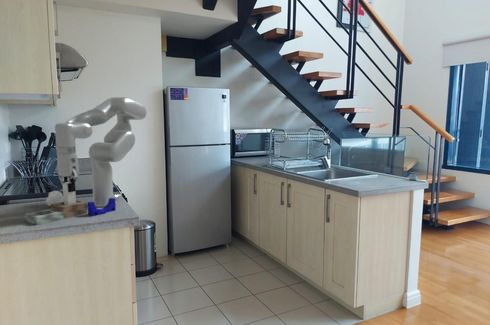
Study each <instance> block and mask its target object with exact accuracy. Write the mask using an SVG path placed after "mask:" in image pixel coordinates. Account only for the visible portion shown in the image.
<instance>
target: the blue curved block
mask: <svg viewBox="0 0 490 325" xmlns="http://www.w3.org/2000/svg"><path fill="white" fill-rule="evenodd" d="M115 200H116V199H115V198H109V201H108V204H107V205H106V206H105V207H101V208H98V207H95V205H94V202H92V201H87V215H88V216H91V217H96V216H101V215H105V214H107V213H111V212H115V210H116V211H117V209H116V208H117V207H116V204H115Z"/></svg>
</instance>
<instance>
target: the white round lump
mask: <svg viewBox="0 0 490 325" xmlns="http://www.w3.org/2000/svg"><path fill="white" fill-rule="evenodd" d="M60 202H64V197H63V192H61V191H60V190H53V191H50V192H48V196H47V198H46V199H45V203H46V204H47V206H49V207H51V205H50V204H55V203H60Z"/></svg>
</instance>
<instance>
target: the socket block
mask: <svg viewBox="0 0 490 325" xmlns="http://www.w3.org/2000/svg"><path fill="white" fill-rule="evenodd" d="M50 205H51V206H50V208H48V209H43V210H38V211H33V212H28V213H24V214H23V215H24V221H25V222H27V223H30V224H34V225H36V226H38V225H42V224H46V223H52V222H56V221H61V220H64V219H68V218H72V217H76V216H77V217H78V216H81V215H84V214H85V215H86V214H88V202H85V201H82V200H77V199H76V204H71V205H64V201H62V202H60V203H55V204H50Z"/></svg>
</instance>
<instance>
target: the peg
mask: <svg viewBox="0 0 490 325" xmlns="http://www.w3.org/2000/svg"><path fill="white" fill-rule="evenodd" d="M62 184H63V188H62V195H63V202H64V205H71V204H76V200H77V196H76V191H74V192H68V182H65V183H62V182H61V185H62Z"/></svg>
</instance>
